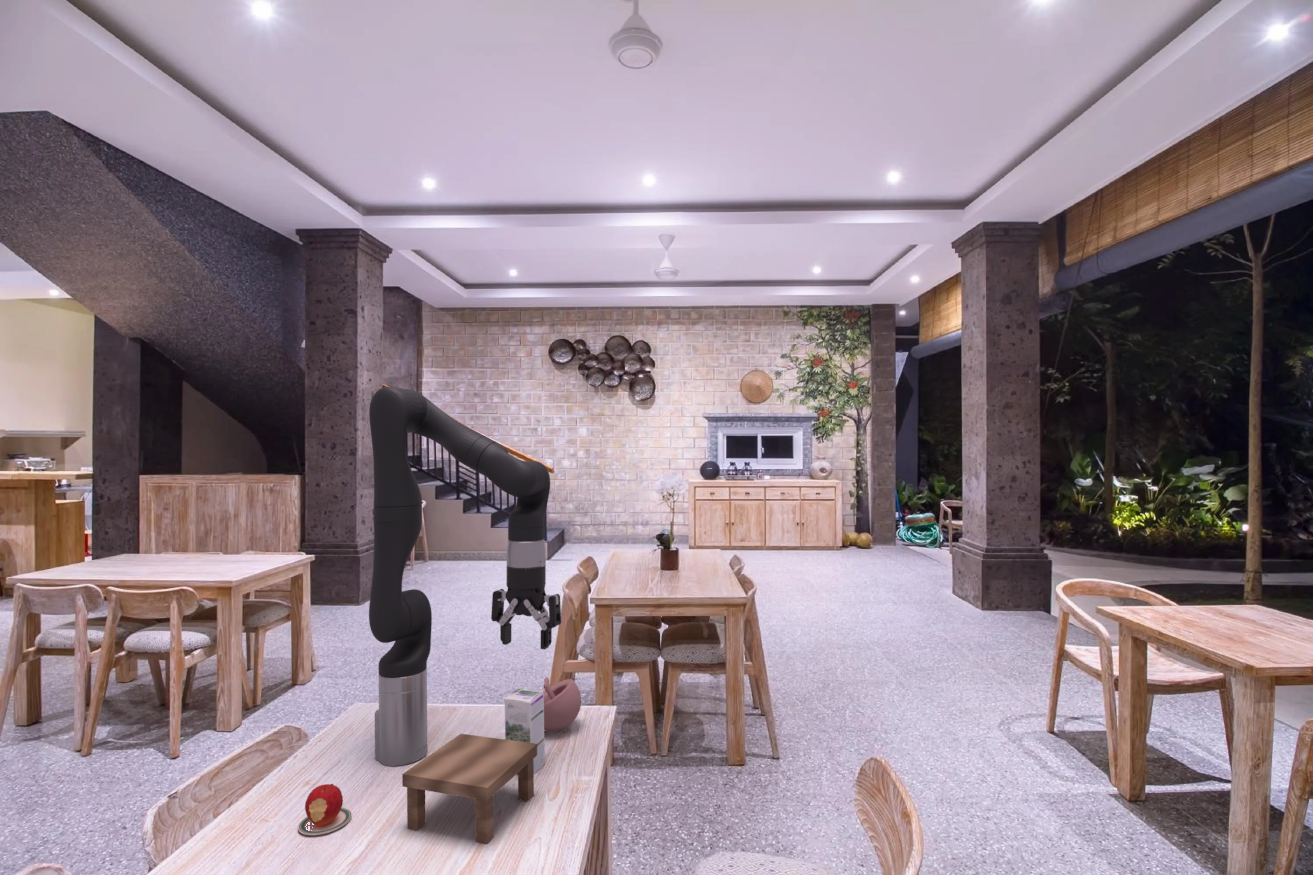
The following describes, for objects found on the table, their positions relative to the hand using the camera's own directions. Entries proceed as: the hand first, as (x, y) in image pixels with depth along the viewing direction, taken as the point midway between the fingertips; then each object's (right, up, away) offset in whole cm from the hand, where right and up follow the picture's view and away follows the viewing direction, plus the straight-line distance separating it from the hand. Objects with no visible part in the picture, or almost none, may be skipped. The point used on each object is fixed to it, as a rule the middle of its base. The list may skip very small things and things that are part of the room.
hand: (525, 645), depth 126 cm
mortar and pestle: (+3, -24, +17) cm, 30 cm away
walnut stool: (-6, -23, -16) cm, 29 cm away
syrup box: (0, -24, -1) cm, 24 cm away
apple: (-30, -24, -18) cm, 42 cm away
